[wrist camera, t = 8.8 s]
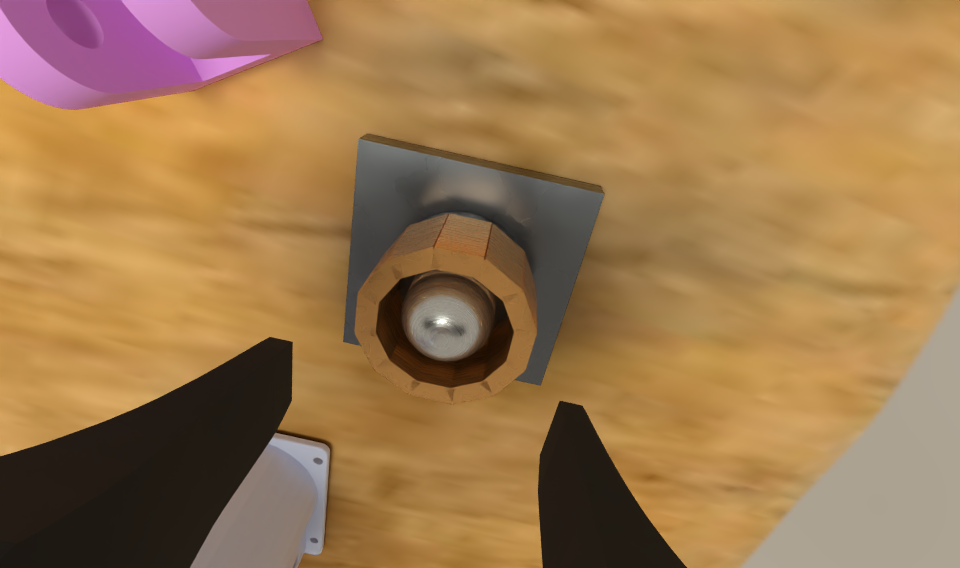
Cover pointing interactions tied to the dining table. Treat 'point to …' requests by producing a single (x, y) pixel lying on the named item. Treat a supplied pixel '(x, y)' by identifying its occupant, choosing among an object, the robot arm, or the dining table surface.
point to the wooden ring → (461, 252)
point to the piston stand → (479, 195)
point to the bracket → (141, 45)
